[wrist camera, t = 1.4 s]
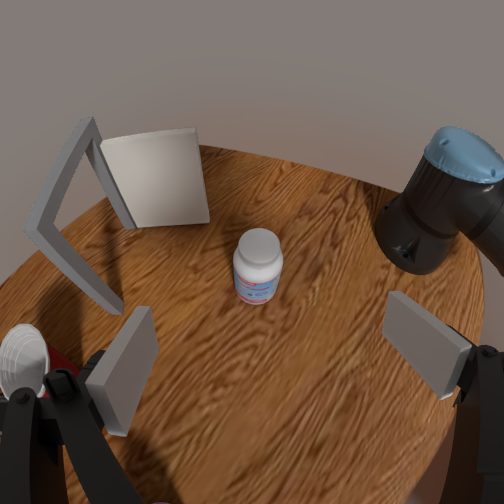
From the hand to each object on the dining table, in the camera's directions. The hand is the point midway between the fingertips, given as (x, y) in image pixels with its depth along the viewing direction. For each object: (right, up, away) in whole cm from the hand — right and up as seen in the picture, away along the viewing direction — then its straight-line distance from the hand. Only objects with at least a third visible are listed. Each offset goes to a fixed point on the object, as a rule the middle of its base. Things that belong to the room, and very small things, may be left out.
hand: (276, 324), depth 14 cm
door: (-15, +9, +32) cm, 36 cm away
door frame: (-22, +2, +28) cm, 36 cm away
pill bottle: (-1, -1, +27) cm, 27 cm away
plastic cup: (-29, -15, +18) cm, 37 cm away
